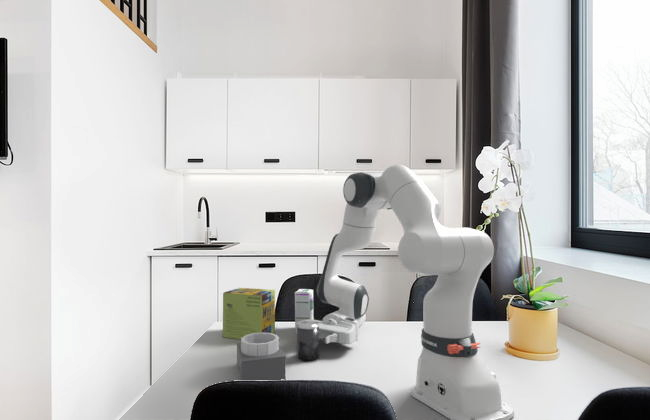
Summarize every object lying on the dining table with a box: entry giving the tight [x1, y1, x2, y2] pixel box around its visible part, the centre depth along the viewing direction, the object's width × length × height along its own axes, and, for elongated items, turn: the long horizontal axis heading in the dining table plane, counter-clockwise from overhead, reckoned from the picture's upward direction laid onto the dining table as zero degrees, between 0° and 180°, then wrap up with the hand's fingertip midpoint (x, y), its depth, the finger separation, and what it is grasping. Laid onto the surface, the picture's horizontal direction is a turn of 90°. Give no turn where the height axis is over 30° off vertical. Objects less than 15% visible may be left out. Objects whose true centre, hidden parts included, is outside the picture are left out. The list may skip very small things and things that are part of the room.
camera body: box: [236, 332, 287, 380], centre depth 102 cm, size 14×11×9 cm
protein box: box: [222, 287, 276, 340], centre depth 133 cm, size 10×15×16 cm
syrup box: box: [294, 288, 315, 326], centre depth 139 cm, size 6×6×14 cm
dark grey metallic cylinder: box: [296, 321, 320, 363], centre depth 112 cm, size 6×6×10 cm
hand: (311, 337), depth 113 cm, fingers open, 8 cm apart
